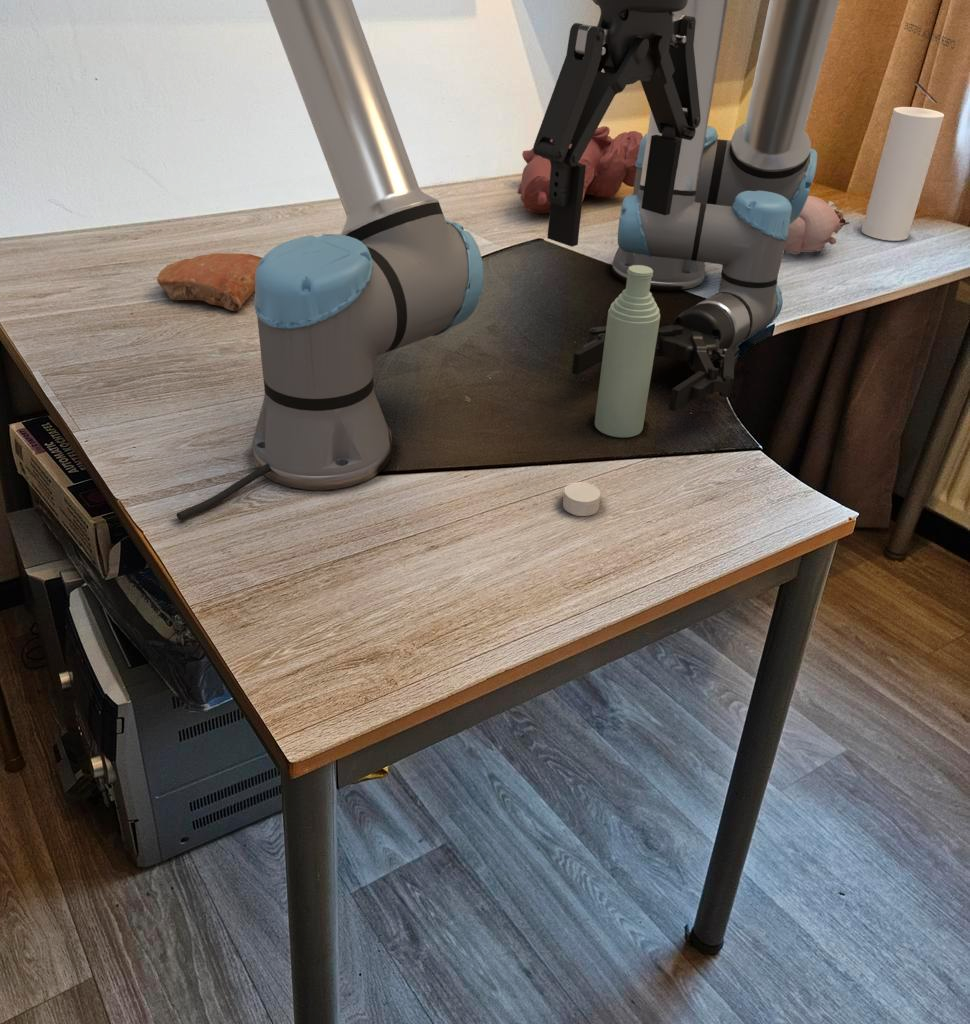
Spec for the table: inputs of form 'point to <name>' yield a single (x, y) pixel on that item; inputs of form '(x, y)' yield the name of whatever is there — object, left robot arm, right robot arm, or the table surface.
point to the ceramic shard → (212, 279)
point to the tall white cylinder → (902, 168)
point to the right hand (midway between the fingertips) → (622, 381)
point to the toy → (814, 226)
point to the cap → (581, 499)
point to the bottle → (628, 357)
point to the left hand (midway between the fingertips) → (611, 226)
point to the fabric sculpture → (603, 169)
